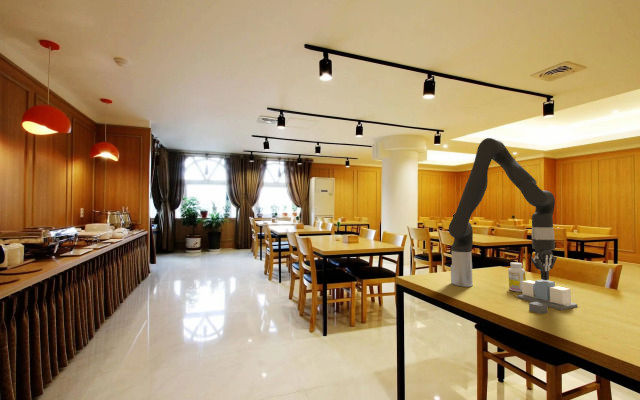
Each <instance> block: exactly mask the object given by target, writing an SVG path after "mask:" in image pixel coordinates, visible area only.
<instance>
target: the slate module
mask: <svg viewBox="0 0 640 400" xmlns="http://www.w3.org/2000/svg"><path fill="white" fill-rule="evenodd" d="M534 281H535V292H536V298H539V299H543V300H547V301H548V300H550V287H556V286H555V284H556V283H555V281H552V280H542V279H537V280H536V279H535V280H534Z"/></svg>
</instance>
